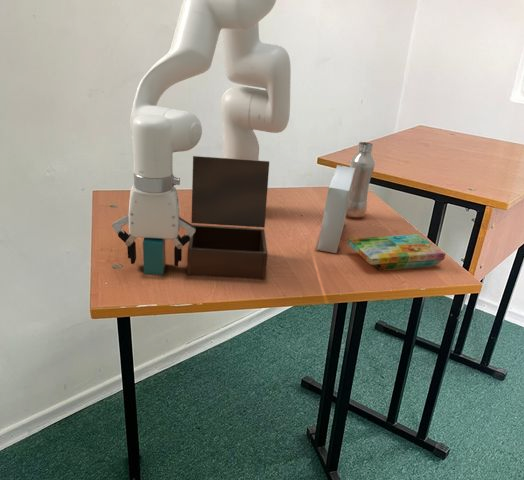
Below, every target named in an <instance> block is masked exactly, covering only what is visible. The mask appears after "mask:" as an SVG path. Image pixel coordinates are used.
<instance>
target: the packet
mask: <svg viewBox="0 0 524 480" xmlns="http://www.w3.org/2000/svg"><path fill="white" fill-rule="evenodd" d="M142 256H143V257H142V259H143V260H142V261H143V274H144V275H156V276H163V275H164V274H165V273H164V272H165V268H166V239H154V238H143V240H142Z"/></svg>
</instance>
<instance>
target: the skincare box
mask: <svg viewBox="0 0 524 480" xmlns="http://www.w3.org/2000/svg"><path fill="white" fill-rule="evenodd" d="M354 172H355V168H352V167H350V166H345V165H341V164H340V165H339V164H337V165H336V167H335V170H334V173H333V175H332V177H331V180H330V183H329V186H328V188H327V194H326V199H325V205H324V209H323V210H324V211H323V217H322V222H321V227H320V233H319V238H318V243H317V247H316V250H317V251H321V252H327V253H333V254H338V251H339V250H338V249H339V246H340V241H341V238H342V234H343V230H344V226H345V223H346V218H347V215H346V214H347V209H348V204H349V199H350V194H351V189H352V184H353V178H354Z"/></svg>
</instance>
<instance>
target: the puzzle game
mask: <svg viewBox="0 0 524 480" xmlns="http://www.w3.org/2000/svg"><path fill="white" fill-rule="evenodd" d="M346 243H347V245H349V246H350V248H352V249H353V250H354V251H355V252H356V253H357V254H358V255H360V257H361V258H363V259H364V260H365V261H366V262H367V263H368V264H369V265H371V266H375V267H376V268H377V269H378V270H379V271H392V270H405V269H407V270H408V269H417V268H418V269H420V268H431V267H432V268H434V267H436V266H437V265H439V264H440V263H442V262H443V261H444V260H445V258H446V255H447V254H446V253H445V252H443V251H442V250H441V249H439V248H438V247H437V246H435V245H434V244H433V243H431V242H429V241H428V240H427V239H425V238H424V237H423V236H421V235H420V234H418V233H415V234H401V235H400V234H399V235H397V234H396V235H385V236H371V237H357V238H347V242H346Z"/></svg>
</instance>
